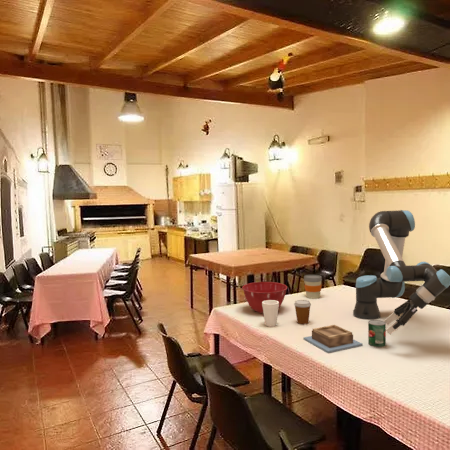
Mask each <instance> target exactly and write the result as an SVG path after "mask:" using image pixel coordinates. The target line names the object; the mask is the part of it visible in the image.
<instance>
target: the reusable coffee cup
mask: <svg viewBox="0 0 450 450" xmlns="http://www.w3.org/2000/svg"><path fill="white" fill-rule="evenodd" d="M303 281H304V284H303V285H304V291H305V295H306V298H307V299H310V300H317V299H320V297H321V291H322V286H323V285H322V281H323V279H322V275H318V274H306V275H304V276H303Z"/></svg>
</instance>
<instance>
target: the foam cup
mask: <svg viewBox="0 0 450 450" xmlns="http://www.w3.org/2000/svg"><path fill="white" fill-rule="evenodd" d="M262 307H263V313H262V314H263V317H264V324H265V326H266V327H270V328H271V327H277V323H278V313H279V309H278V307H279V302H278V301H275V300H266V301H263V302H262ZM279 308H280V307H279Z"/></svg>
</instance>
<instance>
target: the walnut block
mask: <svg viewBox="0 0 450 450" xmlns="http://www.w3.org/2000/svg"><path fill="white" fill-rule="evenodd" d="M311 336H312V339H314V340H316V341H318V342H320V343H321V344H323V345H325V346H327V347H329V348H331V347H336V346H340V345H345V344H350V343H353V339H354V334H353V332H352V331H350V330H348V329H346V328H343V327H341V326H339V325H337V324H330V325H326V326H319V327H315V328H312V330H311Z"/></svg>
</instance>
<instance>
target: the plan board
mask: <svg viewBox="0 0 450 450" xmlns="http://www.w3.org/2000/svg"><path fill="white" fill-rule="evenodd" d="M303 340H304V341H306V342H307V343H308V344H310V345H312V346H315V347H316V348H318V349H320V350H322V351H324V352H325V353H326V354H331V353H335V352H340V351H345V350H348V349H354V348H358V347H363V346H364V345H363V343H362V342H360V341H358V340H355V339H354V338H353V343H350V344H345V345H340V346H336V347H331V348H329V347H327V346H325V345H323V344H321V343H320V342H318V341H316V340H314V339H312V335H310V336H304V337H303Z"/></svg>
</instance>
